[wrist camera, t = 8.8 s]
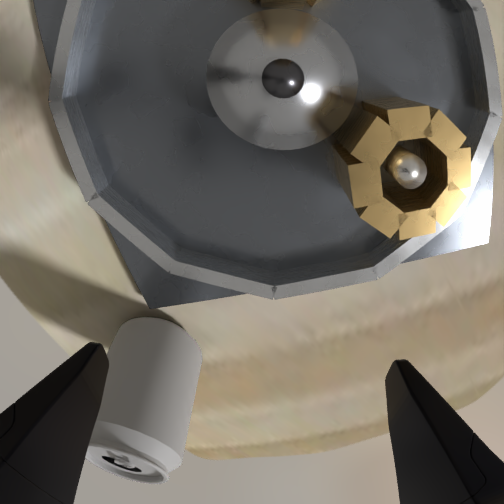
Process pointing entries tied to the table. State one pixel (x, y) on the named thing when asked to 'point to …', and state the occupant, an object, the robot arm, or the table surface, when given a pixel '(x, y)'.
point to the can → (146, 401)
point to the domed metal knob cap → (282, 79)
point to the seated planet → (392, 193)
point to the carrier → (252, 156)
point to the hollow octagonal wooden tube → (286, 3)
